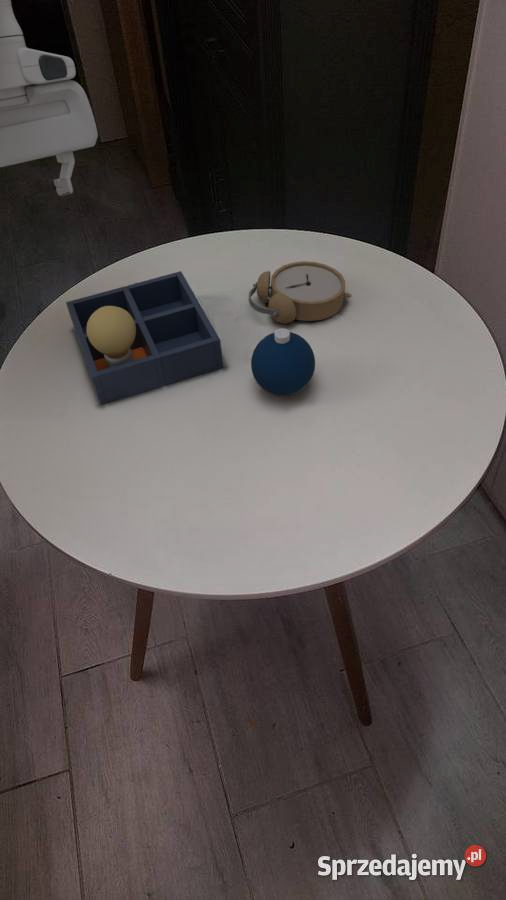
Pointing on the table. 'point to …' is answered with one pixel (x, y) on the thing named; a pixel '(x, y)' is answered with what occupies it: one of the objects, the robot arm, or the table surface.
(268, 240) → the table surface
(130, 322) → the light bulb
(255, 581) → the table surface
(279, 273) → the alarm clock
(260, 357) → the christmas ornament
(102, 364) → the navy compartment tray
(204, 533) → the table surface
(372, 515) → the table surface
